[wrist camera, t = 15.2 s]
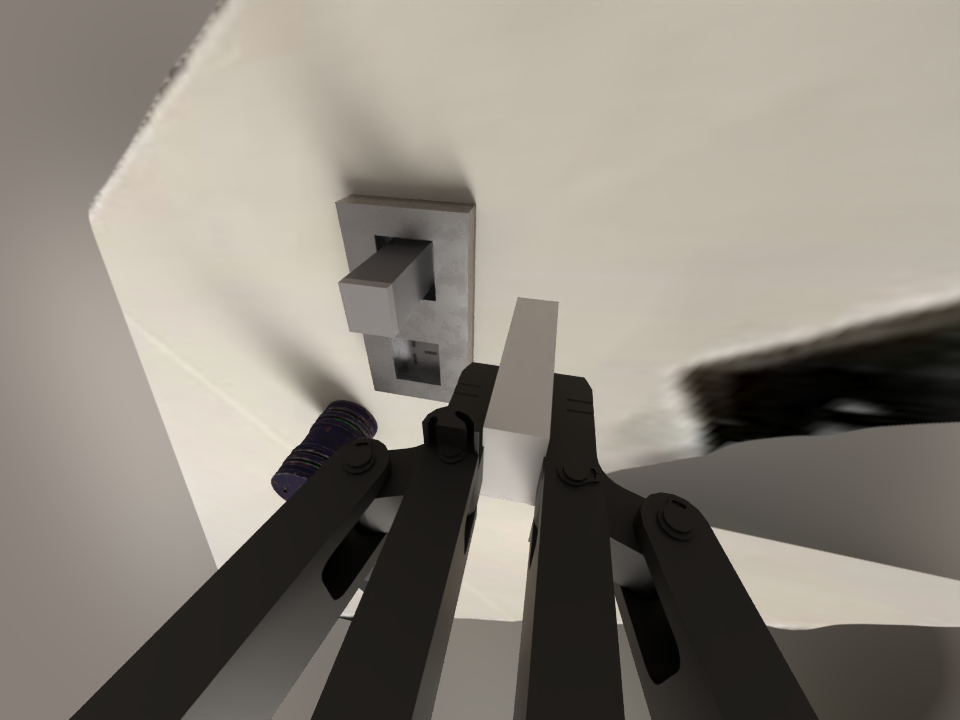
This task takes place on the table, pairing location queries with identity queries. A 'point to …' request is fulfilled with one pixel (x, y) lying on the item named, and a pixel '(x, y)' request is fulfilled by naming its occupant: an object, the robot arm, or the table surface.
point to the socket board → (445, 308)
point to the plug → (387, 287)
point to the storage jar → (323, 444)
